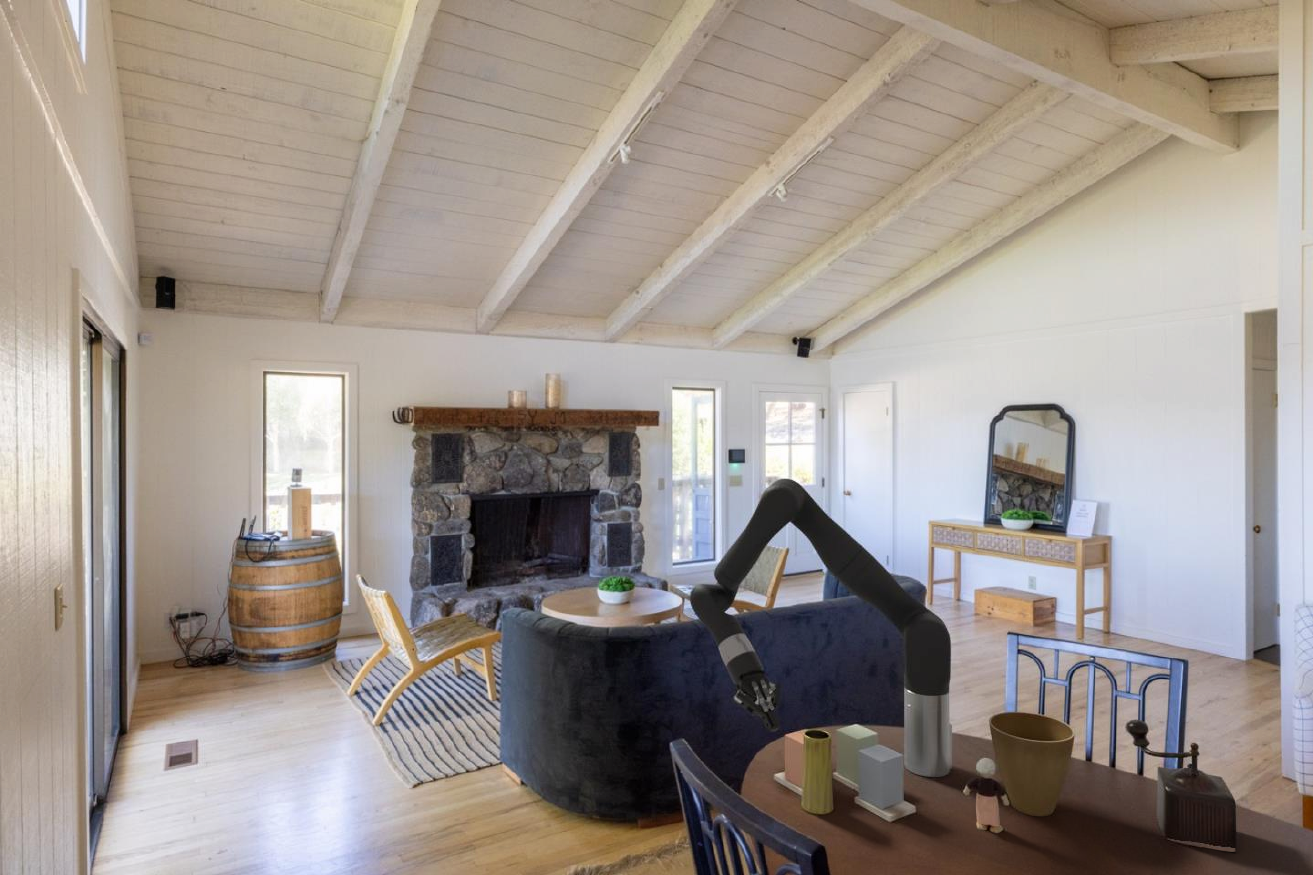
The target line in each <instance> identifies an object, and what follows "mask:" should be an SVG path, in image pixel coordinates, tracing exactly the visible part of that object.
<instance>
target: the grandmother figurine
mask: <svg viewBox="0 0 1313 875" xmlns="http://www.w3.org/2000/svg"><path fill="white" fill-rule="evenodd" d="M975 767H976V768H975V771H977V772H978V773H979V775H980V776H981V777H980V776H978V777H973V778H971V779H970V780H969V781H967V782H966V783H965V787H964V789H963V791H962V792H963V794H964V795H965V796H968V795H970V792H971V791H976V790H977V792H976V798H975V801H976V802H975V810H976V812H975V813H976V828H977V829H978V830H982V831H986V830H987V829H988V826H989V825H990V828H989V832H992V833H995V834H999V833H1001V832H1003V830H1004V828H1003V826H1002V825H1001V824H1000V823H1001V822H1000V811H999V810H1000V809H999V800H998V797H997V794H998V795H999V797H1000V799H1001V801H1002V803H1003V805H1004V806H1009V805H1010V800H1008V799H1009V797H1008V795H1007V792H1006V790H1005V788H1003V787H1002V785H1001V784H1000V783H999V781H997V780H996V779H993V778H992V777H994V776H995V774H996V772H995V771H996V764H995V761H994V760H993V759H991V758H988V757H983V758H980V759H979V760H978V762H977V763H976V765H975Z"/></svg>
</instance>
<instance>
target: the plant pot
mask: <svg viewBox="0 0 1313 875" xmlns="http://www.w3.org/2000/svg"><path fill="white" fill-rule="evenodd" d="M988 722H989V724H988V725H989V729H990V735H991V742H992V748H993V752H994V756H995V761H996V764H997V768H998V770H999V774H1000V776H1001V780H1002V783H1003V786H1004V790H1005V792H1006V796H1007V798H1008V799H1009V800H1008V801H1009V803H1010V805H1011V806H1012V807H1013V809H1015V810H1017V811H1018V812H1020V813H1023V814H1026V815H1029V816H1035V817H1048V816H1050V815H1052V814H1053V813H1054V810H1055V809H1056V806H1057V804H1058V802H1059V800H1060V797H1061V794H1062V792H1063V789H1064V786H1065V782H1066V779H1067V775H1068V772H1069V769H1070V763H1071V759H1072V755H1073V750H1074V748H1073V747H1074V742H1075V735H1076V732H1075V730H1074V729H1073V727H1072V726H1070V725H1069V724H1068V723H1067V722H1064V721H1062V720H1060V719H1057V718H1055V717H1051V716H1048V715H1045V714H1040V713H1035V712H1026V711H1025V712H1024V711H1004V712H1000V713H996V714H993V715H992V716H991V717H989V720H988Z"/></svg>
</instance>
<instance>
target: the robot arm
mask: <svg viewBox="0 0 1313 875" xmlns="http://www.w3.org/2000/svg"><path fill="white" fill-rule="evenodd" d="M789 523H791V525H793V526H794V527H796V529H797V530H799V531H800V532H801V533H802V534H803V535H804V536H805V537H806V538H807V540H808V541H809V542H810V543H811V545H812V547H813V549H814V550H815V552H816V554H817V556H818V557H819V558H820V560H821V562H822V563H823V564H824V566H825V568H826V569H827V570H828V571H829V572H830V573H831V575H832V576H834V578H835V579H837V580H838V582H840V583H841V584H842V585H843V586H844V587H845V589H847V590H849V591H850V592H851V593H852V594H853V595H854V596H857V598H859V599H861V600H862V602H863V601H864V602H865V603H867V604H868V605H870V606H872V607H873V608H875V609H876V610H877V611H878V612H880V613H881V614H882V615H883V616H884V617H885V618H886V619H887V620H888V621H889V622H890V623H891V624H892V625H893V626H894V627H895V629H897V631H898V632H899V633H900V634H901V636H902V637H903V639H904V675H903V677H904V678H903V681H904V683H903V686H904V688H903V689H904V690H903V692H904V696H903V697H904V698H903V699H904V704H903V705H904V708H903V709H904V711H903V712H904V714H903V715H904V718H903V719H904V728H903V729H904V735H903V736H904V738H903V739H904V743H903V744H904V749H903V750H904V752H903V753H904V754H903V766H904V768H906V770H907V771H909V772H910V773H912V774H915V775H918V776H923V777H929V778H940V777H945V776H947V775H949V773H950V770H951V769H953V726H952V724H951V723H950V683H951V679H952V676H951V674H952V671H951V670H952V669H951V668H952V666H951V665H952V641H951V634H950V632H949V631H948V627H947V625H946V623H945V622H944V621H943V620H942V619H941V618H940V616H938V615H937V614H935V613H934V611H932V610H930V609H929V608H928V607H926V606H924V604H922V603H921V602H919V601H918V600H917V599H916V598H914V597H913V596H912V595H911V594H909V593H908V592H907V591H906V590H905V589H904V588H903V587H902V586H901V585H900V583H898V581H897V580H896V579H895V578H894V577H893V576H892V574H891V573H890V572H889V571H888V570H887V569H886V568H885V567H884V566H883V564H881V563H880V562H879V561H878V560H877V559H876V558H875V556H873V555H872V554H871V553H870V552H869V551H868V550H867V549H866V548H865V547H864V546H863V545H861V544H860V543H859V542H858V541H857V540H856V539H855V538H854V537H852V536H851V534H850V533H848V531H846V530H845V529H844V528H843V527H841V526H840V525H839V524H838V523H837V522H836V521H835V520H833V519H832V518H831V517H830V515H828V513H826V512H825V511H824V510H823V508H822V507H821V506H820V505H819V504H818V503H817V502H816V500H814V498H813V497H812V496H811V494H809V493H808V492H807V490H806V489H805V488H804V487H803V485H801V484H800V483H798V482H797V481H796V480H794V479H791V478H780V479H777V480H776V481H774V482H772V484H770V485H769V486H768V487H767V488H766V489H765V490H764V491H763V493H762V495H761V497H760V499H759V501H758V503H757V506H756V508H755V510H754V512H753V514H752V516H751V518H750V520H749V521H748V523H747V525H746V526H745V528H744V530H743V531H742V533H740V535H739V536H738V538H737V539H735V541H734V542H733V543H732V545H731V546H730V548H728V550H727V551H726V553H725V554H724V556H723V557H722V558H721V560H720V561H719V562H718V564H717V565H716V567H714V570H713V576H714V578H715V580H716V583H715V584H713V583H712V584H710V583H699V584H697V585H694V587H693V588H692V589H691V591H690V594H689V602H690V606H691V609H692V610H693V612H694V614H695V615H696V617H697V618H698V619H699V621H700V622H702V624H703V625H704V627H705V628H706V629H707V630H708V631H709V633H710V634H711V637H713V640H714V642H715V644H716V647H717V648H718V651H719V653H720V656H721V658H722V661H723V663H724V665H725V668H726V669H727V671H728V674H729V676H730V678H731V680H732V682H733V684H734V685H736V691H737V692H736V694H735V695H734V696H733V697H732V701H733V702H734V704H736V705H738V706H739V707H740V708H742V709H743V710H745V711H746V712H747V713H748V714H750V715H751V716H753V717H754V716H759V717H760V718H761V719H762V721H763V723H764V725H765V728H766V729H767V730H768V731H769V732H770V733H772V732H777V731H778V730H779V729H780V725H781V724H780V723H781V722H780V720H779V717H778V716H777V714H776V713H775V710H776V709H777V708H778V706H779V705H780V699H781V692H782V691H781V690H782V686H781V683H776V684H774V683H772V682H771V681H770V679H769V677H768V676H766V674H765V671H764V666H763V665H762V662H761V660H760V659H759V656H758V654H757V653H756V650H755V649H754V647H753V645H752V643H751V641H750V640H749V638H748V637H747V636H746V633H745V631H744V630H743V628H742V625H741V624H740V622H739V621H738V618H737V617H736V616H734V615H733V614H729V613H727V612H726V611H728V610H729V609H730V608H731V607H732V605H733V603H734V601H735V599H736V597H737V593H738V591H739V589H740V585H741V584H742V582H743V581H744V580H745V578H746V577H747V576H748V575H749V573H750V572H751V570H752V569H753V568H754V567H755V565H756V564H757V562H758V560H759V558H760V557H761V555H762V553H763V551H764V550H765V548H766V547H767V546H768V544H769V543H770V542H771V540H773V538H774V537H775V536H776V535H777V534H778V533H779V532H780V531H781V530H783V529H784V528H785V527H786V526H787V525H788V524H789Z"/></svg>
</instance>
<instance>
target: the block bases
mask: <svg viewBox="0 0 1313 875" xmlns="http://www.w3.org/2000/svg"><path fill="white" fill-rule="evenodd" d="M832 779H834V780H836V781H837V782H840V783H842V784H843V785H845V786H847V787H849V788H850V789H852V790H854V789H855V790H854V791H856V792H858V783H856V782H854V781H852V780H850V779H848V778H846V777H844V776H842V775H840V774H838V773H837V772H836V771H835V772H832ZM773 780H774V781H776V782H777V783H779V784H780V785H783V786H784V787H786V788H787V789H789V790H790V791H793V792H795V793H796V794H798V795H799V796H801V797H802V788H801V787H799V786H798V785H796V784H794V783H792V782H791V781H789V780H787V779H785V770H784V771H782V772H778V773H775V774H773ZM854 803H855V804H857V805H859V807H862V808H864V809H866V810H868V811H869V812H871V813H873V814H874V815H877V816H879V817H880V818H881V819H883V820H886V821H887V822H889V823H891V822H893V821H896V820H898V819H901V818H903V817H907V816H909V815H911V814H914V813H916V810H917V808H916V806H915V805H913V804H911V803H910V802H907V801H906V800H904V801H903V802H900V803H897V804H895V805H892V806H889V807H887V808H884V809H881V808H879V807H877V806H875V805H873V804H871V803H870V802H868V801H866V800H864V799H862V798H860V797H858V795H857V796H855V797H854Z"/></svg>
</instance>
